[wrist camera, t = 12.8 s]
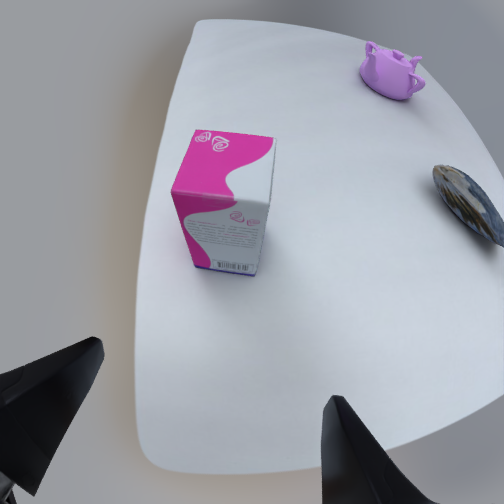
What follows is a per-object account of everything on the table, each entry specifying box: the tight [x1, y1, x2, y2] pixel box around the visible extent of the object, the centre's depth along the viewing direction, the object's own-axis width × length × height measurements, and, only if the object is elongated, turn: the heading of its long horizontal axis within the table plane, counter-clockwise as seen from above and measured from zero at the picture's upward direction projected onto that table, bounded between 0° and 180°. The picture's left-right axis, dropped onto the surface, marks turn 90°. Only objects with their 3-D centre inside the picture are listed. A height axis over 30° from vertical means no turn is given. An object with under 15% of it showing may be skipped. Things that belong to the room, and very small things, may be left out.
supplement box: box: [171, 130, 276, 276], centre depth 21 cm, size 6×6×12 cm
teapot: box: [360, 41, 425, 100], centre depth 38 cm, size 12×14×9 cm
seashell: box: [433, 165, 504, 247], centre depth 28 cm, size 15×12×5 cm
